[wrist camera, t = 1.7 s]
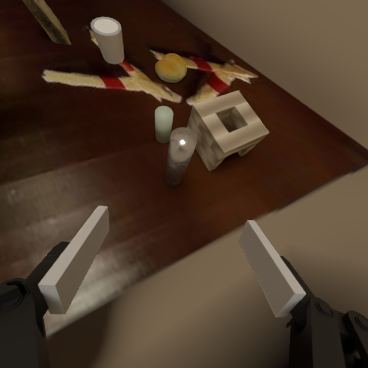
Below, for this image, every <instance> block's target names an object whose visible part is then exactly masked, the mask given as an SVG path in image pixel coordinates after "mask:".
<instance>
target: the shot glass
mask: <svg viewBox="0 0 368 368" xmlns="http://www.w3.org/2000/svg"><path fill="white" fill-rule="evenodd" d="M91 28H92V30H93V33H94V35H95V38H96V40H97V43H98V45H99V48H100V50H101V53H102V55H103V58H104V59H105V61H107V62H108V63H111V64H119V63H121V62H123V60H124V50H123V40H122V31H121V25H120V24H119V23H118V21H116V20H114V19H112V18H109V17H99V18H96V19H94V20H93V21H92V23H91Z"/></svg>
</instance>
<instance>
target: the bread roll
mask: <svg viewBox="0 0 368 368" xmlns="http://www.w3.org/2000/svg"><path fill="white" fill-rule="evenodd" d="M155 70H156V73H157V75H158V76H159V78H160V79H161V80H163V81H165V82H169V83H177V82H179V81H181V80H182V79H183V77H185V75H186V72H187V67H186V64H185V62H184V60H183V59H182V58H181V57H180V56H179V55H177V54H173V53H171V54H167V55H165V56H164V57H163V59H162V60H159V61H158V62H157V63H156V65H155Z"/></svg>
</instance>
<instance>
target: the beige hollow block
mask: <svg viewBox="0 0 368 368" xmlns="http://www.w3.org/2000/svg"><path fill="white" fill-rule="evenodd" d="M187 128H188V129H190V130H192V131H193V132H194V133H195V135H196V137H197V145H196V147H195V149H196V150H197V152H198V154H199V155H200V157H201V159H202V160H203V162H204V163H205V165H206V167H207V168H208V170H209V171H211V170H213V169H215V168H217V166H218V165H219V164H220V163H221V162H222V161H223V160H224V159H225V157H227V156H229V155H231V154H233V153H235V152H238V153H239V155H240V156H242V155H244V154H246V153H247V152H249V151H250V150H251V149H252V148H253V147H254V146H255V145H256V144H257V143H259V142H260V141H261V140H262V139H263V138H264V137H265V136H266V135H267V134H269V131H268V130H267V129H266V127H265V126H264V125H263V123H262V122H261V121H260V119H259V118H258V117H257V115H256V114H255V112H254V111H253V110H252V108H251V107H250V106H249V104H248V103H247V102H246V100H245V99H244V98H243V96H242V95H241V94H240V92H239V91H235V92H232V93H229V94H226V95H223V96H220V97H217V98H213V99H210V100H207V101H204V102H201V103H198V104H195V105H193V108H192V111H191V115H190V119H189V122H188V126H187Z"/></svg>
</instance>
